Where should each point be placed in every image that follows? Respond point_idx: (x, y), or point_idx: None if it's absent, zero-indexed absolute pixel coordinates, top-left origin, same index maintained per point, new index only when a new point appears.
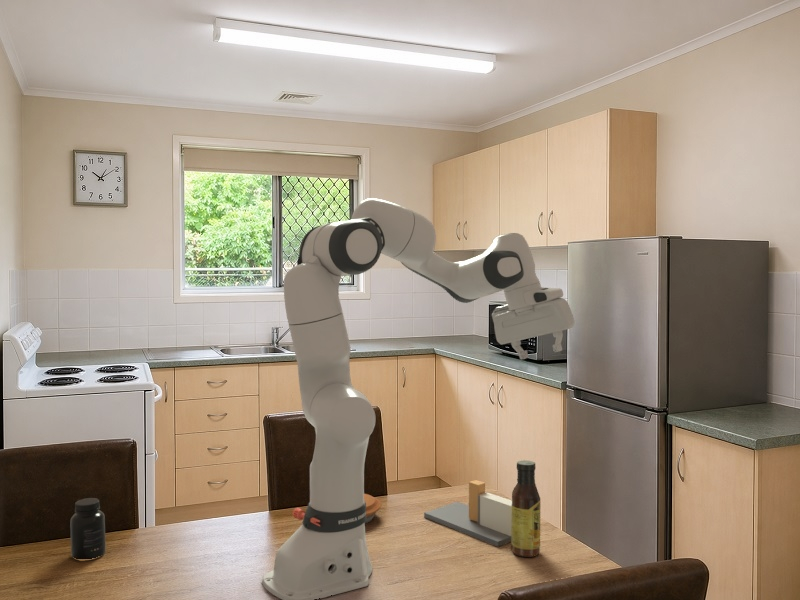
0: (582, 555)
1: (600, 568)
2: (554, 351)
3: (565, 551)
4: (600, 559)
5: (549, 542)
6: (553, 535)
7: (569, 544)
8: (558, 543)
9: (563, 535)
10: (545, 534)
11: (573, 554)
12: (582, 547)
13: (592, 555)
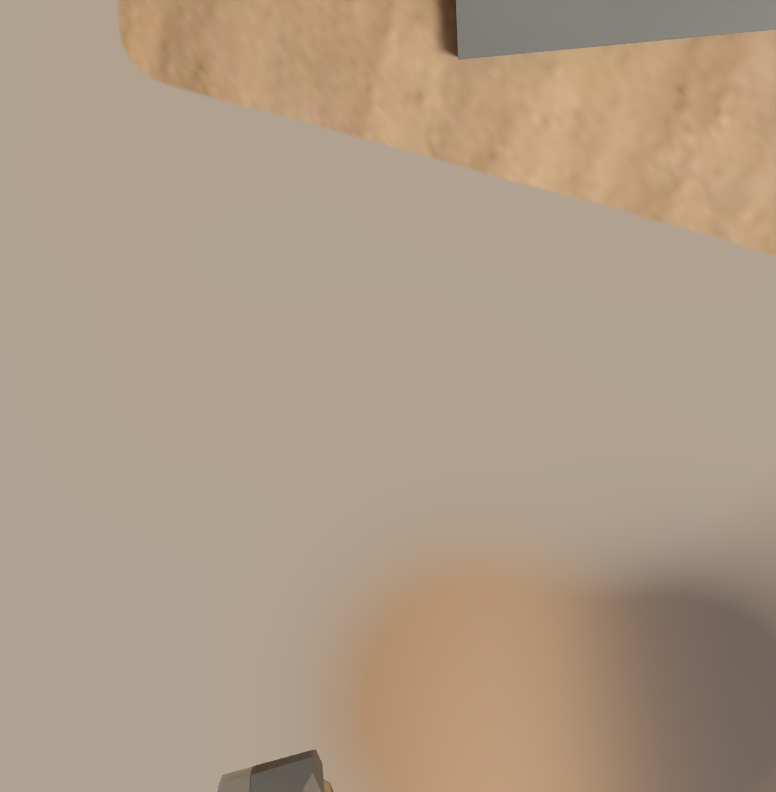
0: (223, 50)
1: (121, 13)
2: (301, 756)
3: (275, 27)
4: (172, 75)
5: (360, 43)
6: (395, 109)
7: (310, 90)
8: (336, 64)
9: (374, 138)
10: (418, 92)
11: (243, 30)
12: (269, 107)
13: (207, 80)
